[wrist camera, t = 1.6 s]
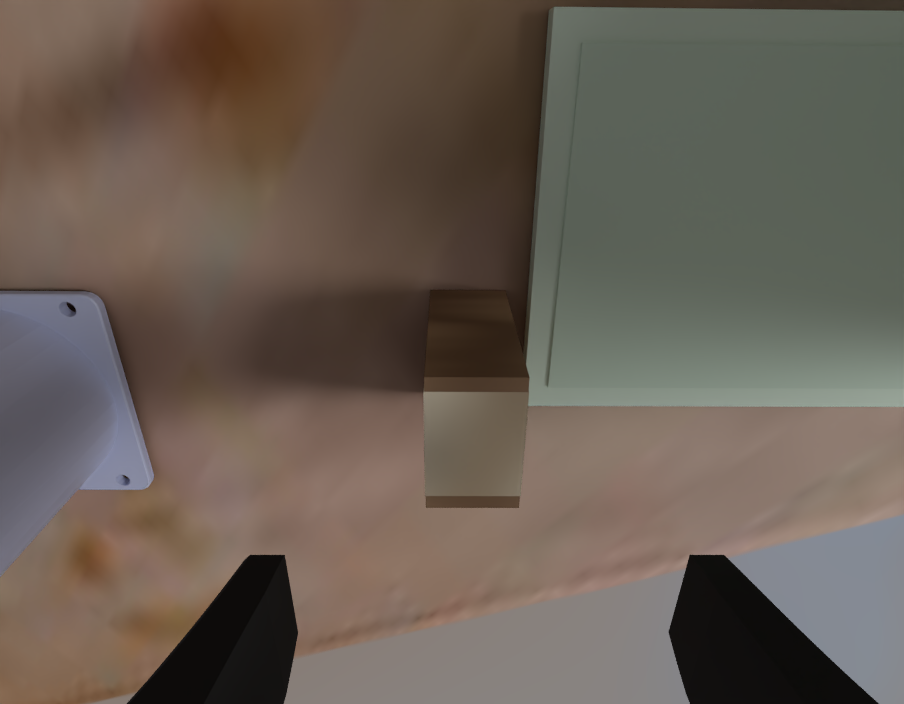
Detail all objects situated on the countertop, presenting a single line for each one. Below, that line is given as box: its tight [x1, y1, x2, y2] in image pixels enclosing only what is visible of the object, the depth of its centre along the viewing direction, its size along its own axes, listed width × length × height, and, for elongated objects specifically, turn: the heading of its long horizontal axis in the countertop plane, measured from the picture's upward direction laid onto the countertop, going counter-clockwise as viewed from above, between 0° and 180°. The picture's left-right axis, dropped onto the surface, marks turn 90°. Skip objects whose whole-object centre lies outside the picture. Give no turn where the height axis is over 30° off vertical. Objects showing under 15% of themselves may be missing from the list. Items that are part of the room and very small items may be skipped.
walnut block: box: [423, 290, 530, 508], centre depth 17 cm, size 2×4×6 cm, turn 179°
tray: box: [523, 7, 904, 407], centre depth 17 cm, size 14×12×1 cm
